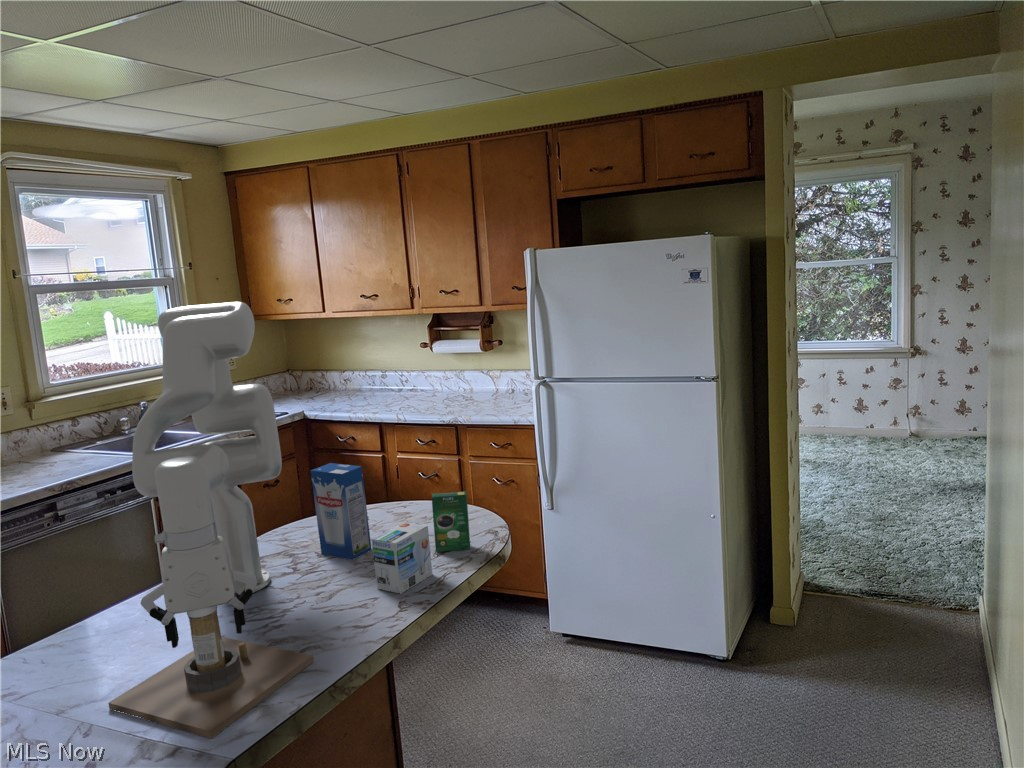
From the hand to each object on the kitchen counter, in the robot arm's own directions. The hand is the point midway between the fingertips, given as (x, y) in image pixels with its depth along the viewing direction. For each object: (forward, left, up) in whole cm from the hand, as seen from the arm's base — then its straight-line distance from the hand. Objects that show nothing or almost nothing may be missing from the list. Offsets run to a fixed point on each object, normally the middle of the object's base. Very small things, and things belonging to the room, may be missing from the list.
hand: (207, 636), depth 125 cm
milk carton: (-15, +53, -9) cm, 56 cm away
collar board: (0, 0, -8) cm, 8 cm away
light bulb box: (+8, +43, -9) cm, 44 cm away
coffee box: (+9, +61, -9) cm, 62 cm away
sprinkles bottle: (0, 0, -7) cm, 7 cm away
